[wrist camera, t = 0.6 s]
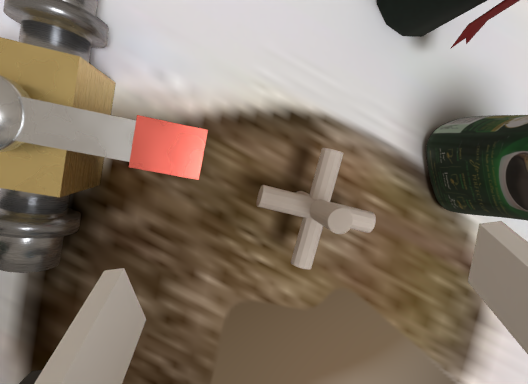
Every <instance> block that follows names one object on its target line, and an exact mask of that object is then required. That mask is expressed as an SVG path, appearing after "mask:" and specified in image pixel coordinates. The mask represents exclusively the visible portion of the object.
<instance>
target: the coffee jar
mask: <svg viewBox="0 0 528 384" xmlns="http://www.w3.org/2000/svg"><path fill="white" fill-rule="evenodd" d="M426 154H427V163H428V171H429V175H430V180H431V184H432V187H433V190H434V193H435V196H436V199H437V200H438V202H439V203H440V205H441V206H443V207H444V208H445V209H447V210H449V211H453V212H457V213H464V214H472V215H482V216H494V217H504V218H513V219H521V220H528V115H501V116H476V117H468V118H462V119H458V120H454V121H451V122H449V123H446V124H444V125H442V126H440V127H439V128H437V129H436V130H435V131H434V132H433V133H432V135H431V136H430V138H429V140H428V142H427V148H426Z"/></svg>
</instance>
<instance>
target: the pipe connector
mask: <svg viewBox="0 0 528 384" xmlns="http://www.w3.org/2000/svg"><path fill="white" fill-rule="evenodd" d="M342 157H343V153H342V152H339V151H336V150H332V149H327V148H322V150H321V154H320V158H319V161H318V165H317V169H316V172H315V176H314V179H313V183H312V187H311V190H310V194H308V193H306V192H303V191H297V192H295V193H294V192H290V191H286V190H282V189H278V188H274V187H270V186H266V185H262V186H261V188H260V190H259V194H258V198H257V206H258V207H262V208H266V209H270V210H274V211H279V212H283V213H287V214H291V215H295V216H300V217H303V219H302V223H301V227H300V230H299V234H298V237H297V241H296V245H295V248H294V252H293V256H292V259H291V263H292V264H293V265H295V266H297V267H299V268H303V269H311V267H312V264H313V260H314V256H315V253H316V249H317V246H318V242H319V239H320V235H321V232H322V228H323V226H324V227H326V228H327V229H329V230H330V231H332V232H334V233H336V234H343V233H346V232H347V231H348V230H349V229H354V230H358V231H363V232H367V233H368V232H371V231H372V230H373V228H374V226H375V222H376V218H375V214H374V213H373V212H369V211H365V210H361V209H357V208H353V207H349V206H345V205H341V204H337V203H333V202H330V200H331V196H332V192H333V189H334V185H335V182H336V178H337V175H338V171H339V168H340V164H341V160H342Z"/></svg>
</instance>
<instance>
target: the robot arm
mask: <svg viewBox="0 0 528 384" xmlns="http://www.w3.org/2000/svg"><path fill="white" fill-rule="evenodd" d="M468 282H469V284H470V285H471V286H472V287H473V288H474V290H475V291H476V292H477V293H478V294H479V296H480V297H481V298H482V299H483V301H484V302H485V303H486V304H487V305H488V307H489V308H490V309H491V310H492V311H493V313H494V314H495V315H496V316H497V318H498V319H499V320H500V321H501V322H502V324H503V325H504V326H505V327H506V328H507V330H508V331H509V332H510V333H511V335H512V336H513V337H514V338H515V339H516V341H517V342H518V343H519V344H520V345H521V347H522V348H523V349H524V350H525V352H526V353H527V354H528V242H527V241H526V240H524V239H523V238H522V237H521V236H519V235H518V234H517V233H516V232H514V231H513V230H512V229H511V228H509V227H508V226H507V225H506V224H504V223H503V222H502V221H498V222H490V223H482V224H479V229H478V234H477V239H476V244H475V249H474V254H473V259H472V264H471V269H470V274H469V279H468ZM145 321H146V318H145V315H144V313H143V311H142V308H141V306H140V304H139V302H138V299H137V297H136V295H135V292H134V290H133V288H132V285H131V283H130V281H129V278H128V276H127V274H126V272H125V269H124V268H121V269H113V270H105V271H104V272H103V274H102V275H101V277H100V278H99V280H98V282H97V283H96V285H95V286H94V288H93V290H92V291H91V293H90V295H89V296H88V298H87V299H86V301H85V303H84V304H83V306H82V307H81V309H80V311H79V312H78V314H77V315H76V317H75V319H74V320H73V322H72V324H71V325H70V327H69V328H68V330H67V332H66V333H65V335H64V336H63V338H62V340H61V341H60V343H59V345H58V346H57V348H56V349H55V351H54V353H53V354H52V356H51V357H50V359H49V361H48V362H47V364H46V365H45V367H44V369H43V370H39V371H32V372H31V373H30V374H29V375H28V376H27V377H26V378H24V379H23V380H22V381H21V382H20V383H19V384H122V383H123V380H124V377H125V375H126V372H127V369H128V367H129V364H130V361H131V359H132V356H133V353H134V351H135V348H136V345H137V343H138V340H139V337H140V335H141V332H142V329H143V327H144V324H145Z"/></svg>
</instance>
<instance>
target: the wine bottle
mask: <svg viewBox="0 0 528 384" xmlns="http://www.w3.org/2000/svg"><path fill="white" fill-rule="evenodd" d="M485 1H487V0H377V5H378V8H379V10H380V12H381V14H382V16H383V18H384V20H385V22H386V24H387V25H388V26H390V27H391V28H392V29H394V30H395V31H397V32H398V33H399V34H401V35H402V36H420V37H422V36H423V35H425V34H427V33H429V32H431V31H432V30H434V29H436V28H438V27H440V26H441V25H443V24H445V23H447V22H449V21H451V20H452V19H454V18H456V17H458V16H460V15H461V14H463V13H465V12H467V11H469V10H470V9H472V8H474V7H476V6H478V5H480V4H481V3H483V2H485ZM518 1H519V0H504V1H502V2H501V3H499V4H498V5H497V6H495V7H494V8H492V9H491V10H489V11H488V12H486V13H485V14H483V15H482V16H480V17H479V18H477V19H476V20H474V21H473V22H471V23H470V24H468V26H467V27H466V28H465V30H464V31H463V32H462V34H461V35H460V36H459V38H458V39H457V40H456V42H455V43H454V44H453V46H455V45H456V44H458V43H459V42H461V41H462V40H463V39H465V38H466V44H467V43H468V42H469V41H470V40H471V38H472V37H473V36H474V35H475V34H476V33H477V32H478V31H479V30H480V28H481V27H482V26H483V25H484V24H485V23H486V22H487V21H488V20H489V19H491V18H492V17H494V16H495V15H497V14H499V13H500V12H502V11H503V10H505V9H507V8H508V7H510V6H511V5H513V4H515V3H516V2H518ZM453 46H452V47H453ZM452 47H451V48H452ZM451 48H450V49H451Z"/></svg>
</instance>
